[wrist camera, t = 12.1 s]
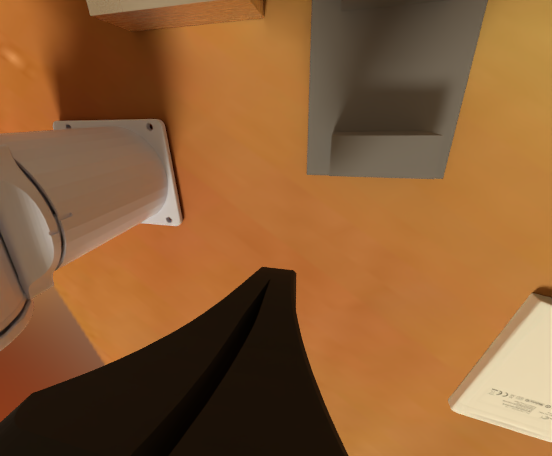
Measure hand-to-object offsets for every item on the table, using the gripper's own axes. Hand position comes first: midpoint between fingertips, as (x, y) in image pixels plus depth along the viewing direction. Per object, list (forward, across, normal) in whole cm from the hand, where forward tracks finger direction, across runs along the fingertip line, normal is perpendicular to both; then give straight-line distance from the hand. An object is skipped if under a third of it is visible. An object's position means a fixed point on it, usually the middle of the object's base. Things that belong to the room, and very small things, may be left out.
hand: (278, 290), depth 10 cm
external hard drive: (+10, -18, +12) cm, 24 cm away
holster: (+9, -4, -8) cm, 13 cm away
